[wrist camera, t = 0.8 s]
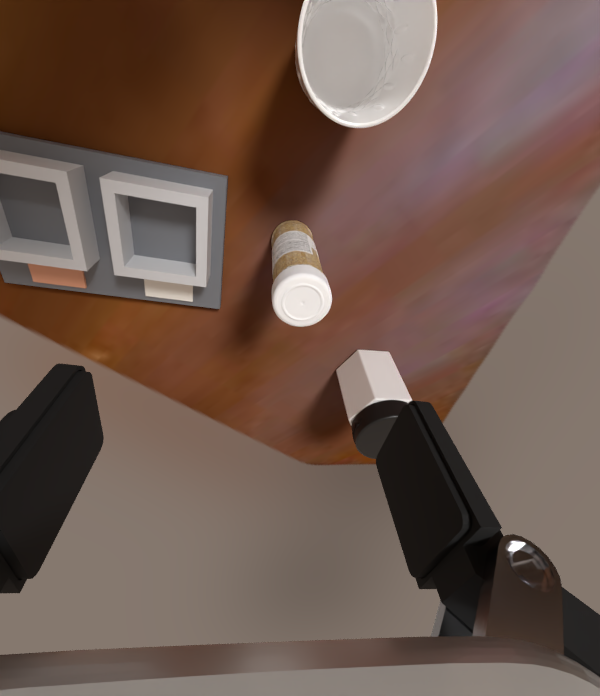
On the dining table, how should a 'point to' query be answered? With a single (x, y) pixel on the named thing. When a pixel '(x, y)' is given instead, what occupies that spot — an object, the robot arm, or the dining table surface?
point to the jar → (371, 397)
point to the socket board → (110, 223)
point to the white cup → (364, 56)
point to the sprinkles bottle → (298, 276)
